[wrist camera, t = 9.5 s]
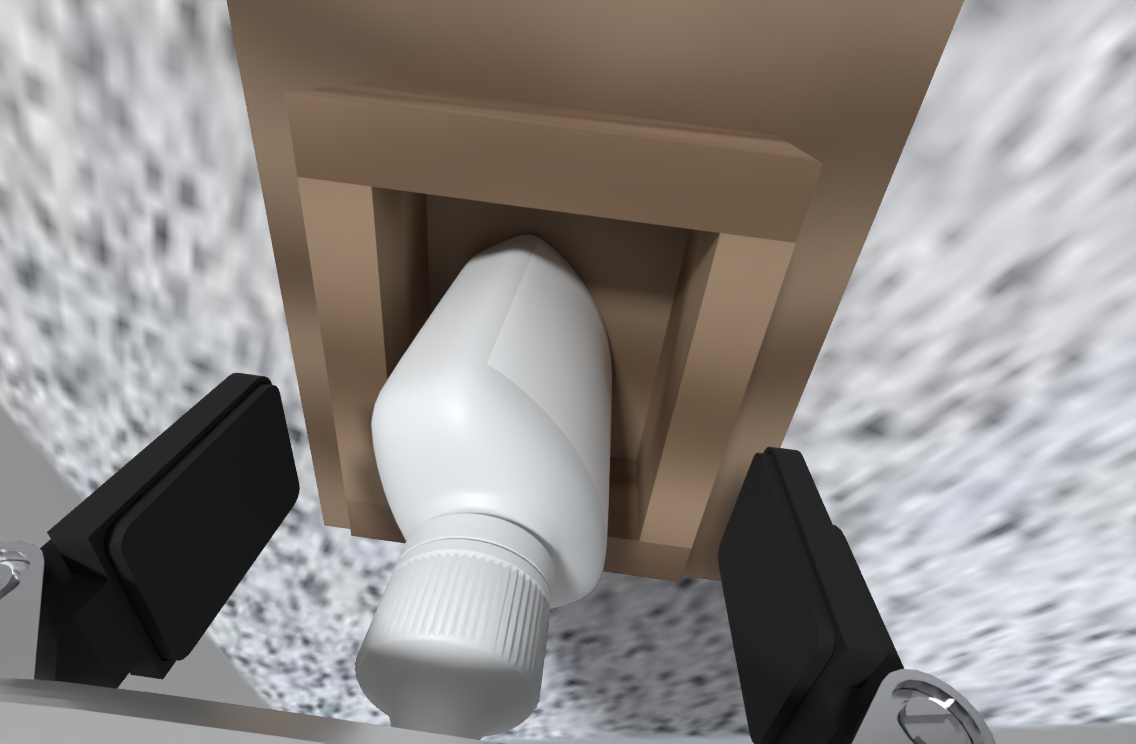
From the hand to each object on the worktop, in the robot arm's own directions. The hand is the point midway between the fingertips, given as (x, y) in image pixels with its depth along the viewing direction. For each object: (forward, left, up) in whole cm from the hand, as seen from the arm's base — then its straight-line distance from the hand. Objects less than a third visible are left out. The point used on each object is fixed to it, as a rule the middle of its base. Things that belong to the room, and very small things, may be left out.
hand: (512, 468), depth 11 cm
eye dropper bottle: (0, 0, -6) cm, 6 cm away
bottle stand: (0, 0, -8) cm, 8 cm away
